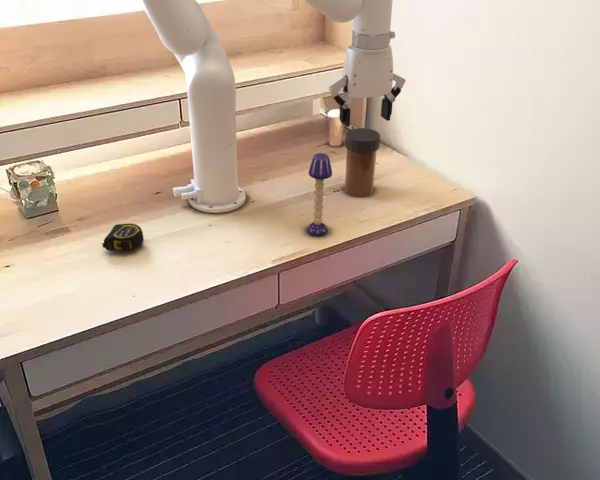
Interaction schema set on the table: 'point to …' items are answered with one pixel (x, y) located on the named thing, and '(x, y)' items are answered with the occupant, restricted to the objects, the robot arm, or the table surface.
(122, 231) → the tape measure
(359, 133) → the cap
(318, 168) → the toy lamp
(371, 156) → the jar
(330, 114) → the milkshake
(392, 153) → the table surface
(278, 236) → the table surface
